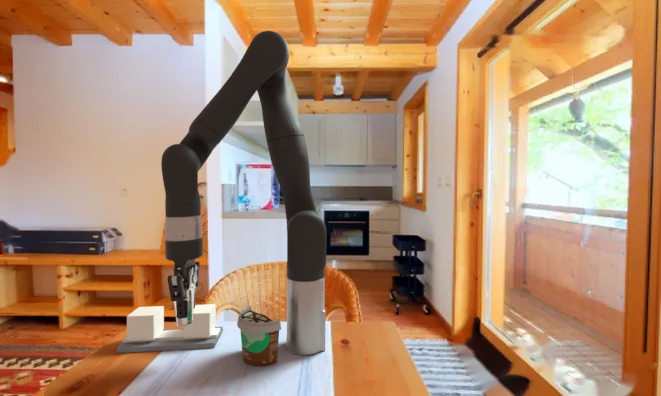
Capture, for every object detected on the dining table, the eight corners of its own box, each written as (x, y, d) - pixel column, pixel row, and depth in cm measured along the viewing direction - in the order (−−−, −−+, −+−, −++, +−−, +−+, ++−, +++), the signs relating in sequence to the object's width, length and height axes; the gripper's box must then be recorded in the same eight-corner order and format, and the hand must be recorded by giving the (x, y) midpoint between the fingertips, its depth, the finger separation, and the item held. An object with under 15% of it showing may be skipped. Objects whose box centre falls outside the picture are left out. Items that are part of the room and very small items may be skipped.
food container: (226, 355, 72) (226, 312, 72) (249, 345, 76) (249, 305, 76) (257, 377, 63) (257, 329, 63) (281, 365, 68) (281, 320, 68)
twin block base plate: (222, 331, 84) (222, 301, 84) (214, 347, 75) (214, 315, 75) (136, 335, 81) (135, 305, 81) (116, 353, 72) (116, 319, 72)
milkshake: (190, 328, 66) (189, 282, 65) (168, 326, 67) (166, 281, 66) (203, 319, 70) (201, 276, 70) (182, 317, 71) (180, 275, 71)
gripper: (191, 241, 62) (194, 326, 62) (210, 231, 76) (212, 301, 76) (151, 242, 61) (154, 329, 61) (177, 232, 75) (179, 302, 75)
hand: (186, 313), depth 69 cm, fingers closed on milkshake, 4 cm apart
